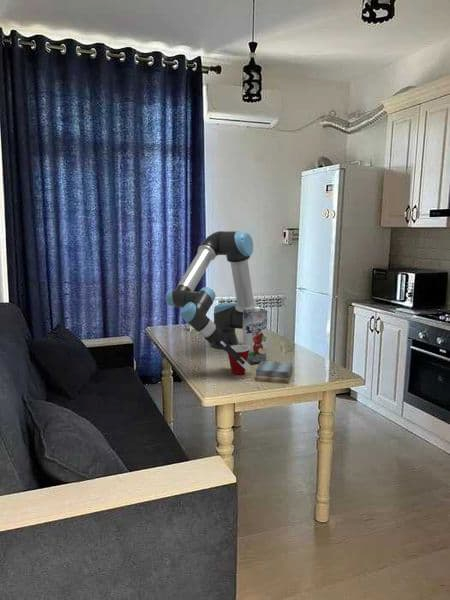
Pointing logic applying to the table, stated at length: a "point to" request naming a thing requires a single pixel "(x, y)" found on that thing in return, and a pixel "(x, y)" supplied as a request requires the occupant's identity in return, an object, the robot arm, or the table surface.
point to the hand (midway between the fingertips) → (243, 363)
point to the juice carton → (255, 334)
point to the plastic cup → (235, 366)
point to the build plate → (274, 372)
